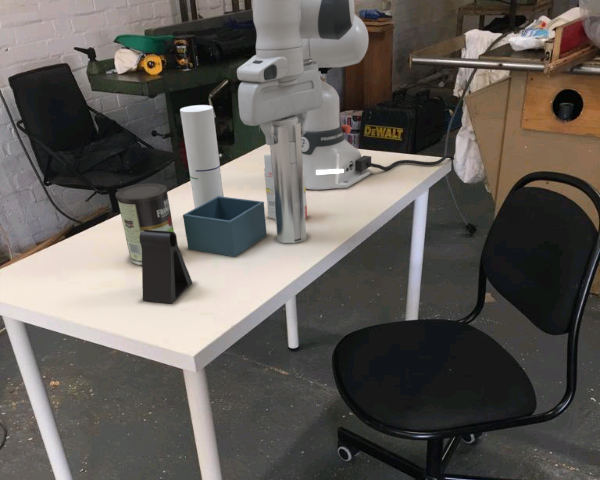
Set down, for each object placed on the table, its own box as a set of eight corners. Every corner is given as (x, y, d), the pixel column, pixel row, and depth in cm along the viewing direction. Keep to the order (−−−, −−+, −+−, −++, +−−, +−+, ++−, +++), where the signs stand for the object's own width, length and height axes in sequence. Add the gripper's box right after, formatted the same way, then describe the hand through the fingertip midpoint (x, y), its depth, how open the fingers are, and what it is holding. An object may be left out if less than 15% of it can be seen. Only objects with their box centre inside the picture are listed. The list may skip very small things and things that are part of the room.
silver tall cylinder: (275, 244, 140) (266, 121, 125) (278, 233, 145) (269, 114, 130) (305, 243, 139) (299, 120, 125) (306, 232, 144) (301, 113, 130)
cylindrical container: (221, 225, 151) (206, 111, 136) (192, 225, 152) (175, 112, 138) (230, 215, 156) (216, 104, 142) (202, 214, 158) (186, 105, 143)
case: (222, 228, 149) (217, 195, 145) (266, 235, 144) (263, 201, 140) (188, 249, 140) (182, 214, 136) (234, 256, 135) (230, 221, 131)
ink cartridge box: (308, 216, 152) (305, 152, 144) (296, 223, 149) (292, 158, 141) (279, 211, 157) (275, 149, 148) (267, 217, 154) (261, 154, 145)
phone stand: (165, 281, 127) (154, 221, 120) (192, 283, 125) (182, 223, 118) (142, 301, 120) (129, 239, 113) (171, 304, 118) (159, 242, 111)
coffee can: (184, 247, 141) (173, 182, 133) (169, 266, 133) (156, 198, 125) (140, 246, 143) (126, 182, 135) (122, 265, 134) (107, 198, 126)
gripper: (305, 55, 130) (308, 128, 138) (229, 71, 118) (238, 149, 126) (328, 57, 126) (330, 131, 134) (253, 73, 115) (260, 153, 122)
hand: (285, 140), depth 130 cm, fingers closed on silver tall cylinder, 6 cm apart
